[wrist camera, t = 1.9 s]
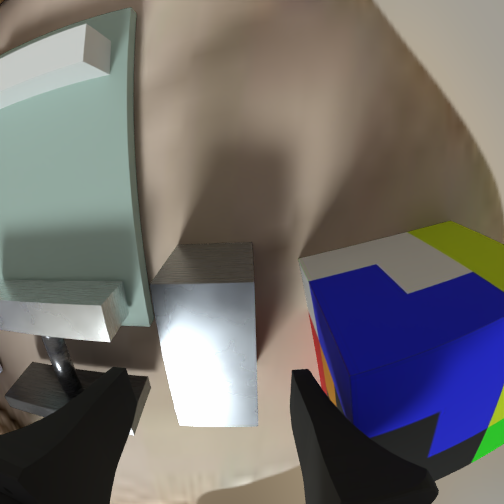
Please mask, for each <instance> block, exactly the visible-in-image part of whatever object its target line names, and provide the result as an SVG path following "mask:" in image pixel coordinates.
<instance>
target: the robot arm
mask: <svg viewBox="0 0 504 504" xmlns="http://www.w3.org/2000/svg"><path fill="white" fill-rule="evenodd" d="M1 372H2V367H1V365H0V373H1ZM136 408H137V401H136V398H135V395H134V392H133V389H132V386H131V383H130V379H129V376H128V373H127V370H126V368H119V367H112V368H111V369H110V370H108V371H107V372H106V373H105V374H103V375H102V376H101V377H100V378H99V379H97V380H96V381H95V382H94V383H93V384H91V385H90V386H89V387H88V388H87V389H85V390H84V391H83V392H82V393H80V394H79V395H78V396H76V397H75V398H74V399H72V400H71V401H70V402H68V403H67V404H66V405H64V406H63V407H61V408H60V409H58V410H57V411H55V412H53V413H52V414H50V415H48V416H47V417H45V418H43V419H41V420H39V421H37V422H35V423H32V424H30V425H28V426H26V427H24V428H21V429H18V430H15V431H12V432H9V433H6V434H3V435H0V504H110V497H111V491H112V486H113V481H114V476H115V472H116V468H117V465H118V462H119V459H120V457H121V454H122V451H123V449H124V446H125V443H126V441H127V438H128V435H129V433H130V430H131V427H132V425H133V421H134V417H135V412H136ZM290 414H291V424H292V430H293V435H294V439H295V444H296V448H297V452H298V457H299V461H300V465H301V470H302V475H303V481H304V490H305V500H306V504H431V503H432V502H433V501H434V500H435V498H436V497H437V495H438V491H439V490H438V488H437V486H436V483H435V481H434V479H433V478H432V476H431V475H430V473H429V472H428V470H427V469H426V468H423V467H421V466H418V465H416V464H414V463H411V462H409V461H407V460H405V459H402V458H401V457H399V456H397V455H395V454H393V453H391V452H390V451H388V450H387V449H385V448H384V447H382V446H380V445H379V444H377V443H376V442H374V441H373V440H372V439H370V438H369V437H368V436H367V435H365V434H364V433H363V432H362V431H360V430H359V429H358V428H357V427H356V426H355V425H354V424H352V423H351V422H350V421H349V420H348V419H347V418H346V417H345V416H344V415H343V414H342V412H341V411H340V410H339V409H338V408H337V407H336V406H335V405H334V403H333V402H332V401H331V400H330V399H329V397H328V396H327V395H326V394H325V392H324V391H323V390H322V388H321V387H320V386H319V384H318V383H317V381H316V380H315V378H314V377H313V375H312V373H311V372H310V371H309V370H308V369H301V370H292V378H291V395H290Z"/></svg>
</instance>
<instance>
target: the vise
mask: <svg viewBox="0 0 504 504" xmlns="http://www.w3.org/2000/svg"><path fill="white" fill-rule="evenodd" d="M136 16H137V14H136V12H135V11H134V10H133V9H132V8H131V7H130V8H126V9H122V10H118V11H114V12H110V13H106V14H103V15H99V16H96V17H93V18H89V19H86V20H83V21H80V22H77V23H74V24H71V25H68V26H65V27H63V28H60V29H57V30H55V31H52V32H50V33H47V34H45V35H42V36H40V37H38V38H35V39H33V40H31V41H28V42H26V43H24V44H22V45H20V46H18V47H16V48H13V49H11V50H9V51H7V52H5V53H4V54H2V55H0V280H51V281H123V284H124V290H125V295H126V300H127V305H128V310H129V315H128V316H127V318H126V319H125V321H124V322H123V324H122V325H121V326H147V327H150V325H151V324H152V322H153V320H154V314H153V308H152V303H151V297H150V290H149V284H148V278H147V271H146V264H145V257H144V249H143V241H142V232H141V223H140V214H139V203H138V192H137V179H136V163H135V143H134V103H133V88H134V49H135V30H136Z"/></svg>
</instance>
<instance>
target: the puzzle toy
mask: <svg viewBox="0 0 504 504" xmlns="http://www.w3.org/2000/svg"><path fill="white" fill-rule="evenodd" d="M298 261H299V266H300V271H301V276H302V281H303V286H304V291H305V296H306V301H307V307H308V312H309V317H310V323H311V328H312V334H313V339H314V345H315V351H316V357H317V362H318V368H319V375H320V381H321V387H322V390H323V391H324V392H325V394H326V395H327V396H328V397H329V399H330V400H331V401H332V402H333V403H334V405H335V406H336V407H337V408H338V409H339V410H340V411H341V412H342V414H343V415H344V416H345V417H346V418H347V419H348V420H349V421H350V422H351V423H352V424H354V425H355V426H356V427H357V428H358V429H359V430H360V431H362V432H363V433H364V434H365V435H367V436H368V437H369V438H370V439H372V440H373V441H374V442H376V443H377V444H379V445H380V446H382V447H384V448H385V449H387V450H388V451H390V452H391V453H393V454H395V455H397V456H399V457H401V458H402V459H405V460H407V461H409V462H411V463H414V464H416V465H418V466H421V467H423V468H426V469H427V470H428V472H429V473H430V475H431V476H432V478H433V479H434V481H436V480H438V479H440V478H442V477H445V476H447V475H449V474H451V473H453V472H455V471H457V470H459V469H461V468H463V467H465V466H467V465H469V464H470V463H472V462H474V461H476V460H478V459H479V458H481V457H483V456H485V455H486V454H488V453H490V452H491V451H493V450H495V449H496V448H498V447H499V446H501V445H503V444H504V244H501V243H499V242H497V241H495V240H493V239H491V238H489V237H486V236H484V235H482V234H480V233H478V232H475V231H473V230H471V229H469V228H466V227H464V226H462V225H459V224H457V223H455V222H452V221H447V222H444V223H440V224H436V225H432V226H428V227H424V228H420V229H416V230H413V231H409V232H405V233H401V234H397V235H393V236H389V237H385V238H381V239H377V240H373V241H369V242H365V243H361V244H357V245H353V246H349V247H345V248H341V249H337V250H332V251H328V252H324V253H320V254H316V255H312V256H308V257H303V258H299V259H298Z"/></svg>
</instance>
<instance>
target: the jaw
mask: <svg viewBox="0 0 504 504" xmlns="http://www.w3.org/2000/svg"><path fill="white" fill-rule="evenodd" d="M128 315H129V310H128V305H127V300H126V295H125V290H124V284H123V281H51V280H0V330H6V331H13V332H20V333H26V334H34V335H41V337H42V340H43V342H44V345H45V348H46V351H47V353H48V356H49V358H50V361H51V363H52V365H47V364H42V363H36V362H32V363H31V364H30V365H29V367H28V368H27V369H26V370H25V371H24V373H23V374H22V375H21V376H20V377H19V379H18V380H17V381H16V382H15V383H14V385H13V386H12V387H11V388H10V390H9V391H8V392H7V393H6V395H5V398H6V400H7V401H8V403H9V405H10V407H13V408H16V409H19V410H22V411H26V412H29V413H32V414H36V415H39V416H43V417H47V416H48V415H50V414H52V413H53V412H55V411H57V410H58V409H60V408H61V407H63V406H64V405H66V404H67V403H68V402H70V401H71V400H72V399H74V398H75V397H76V396H78V395H79V394H80V393H82V392H83V391H84V390H85V389H87V388H88V387H89V386H90V385H91V384H93V383H94V382H95V381H96V380H97V379H99V378H100V377H101V376H102V375H103V374H105V373H104V372H95V371H87V370H79V369H75V368H74V365H73V362H72V360H71V357H70V354H69V351H68V348H67V346H66V343H65V340H64V338H68V339H78V340H89V341H101V342H111V340H112V339H113V337H114V336H115V334H116V333H117V331H118V330H119V328H120V327H121V325H122V324H123V322H124V321H125V319H126V318H127V316H128ZM128 376H129V379H130V383H131V386H132V389H133V392H134V395H135V398H136V401H137V408H136V412H135V417H134V421H133V425H132V427H131V430H130V433H129V434H130V435H134V434H135V431H136V428H137V426H138V423H139V420H140V417H141V414H142V411H143V408H144V406H145V403H146V400H147V397H148V394H149V392H150V389H151V386H150V382H149V379H148V376H135V375H128Z"/></svg>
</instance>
